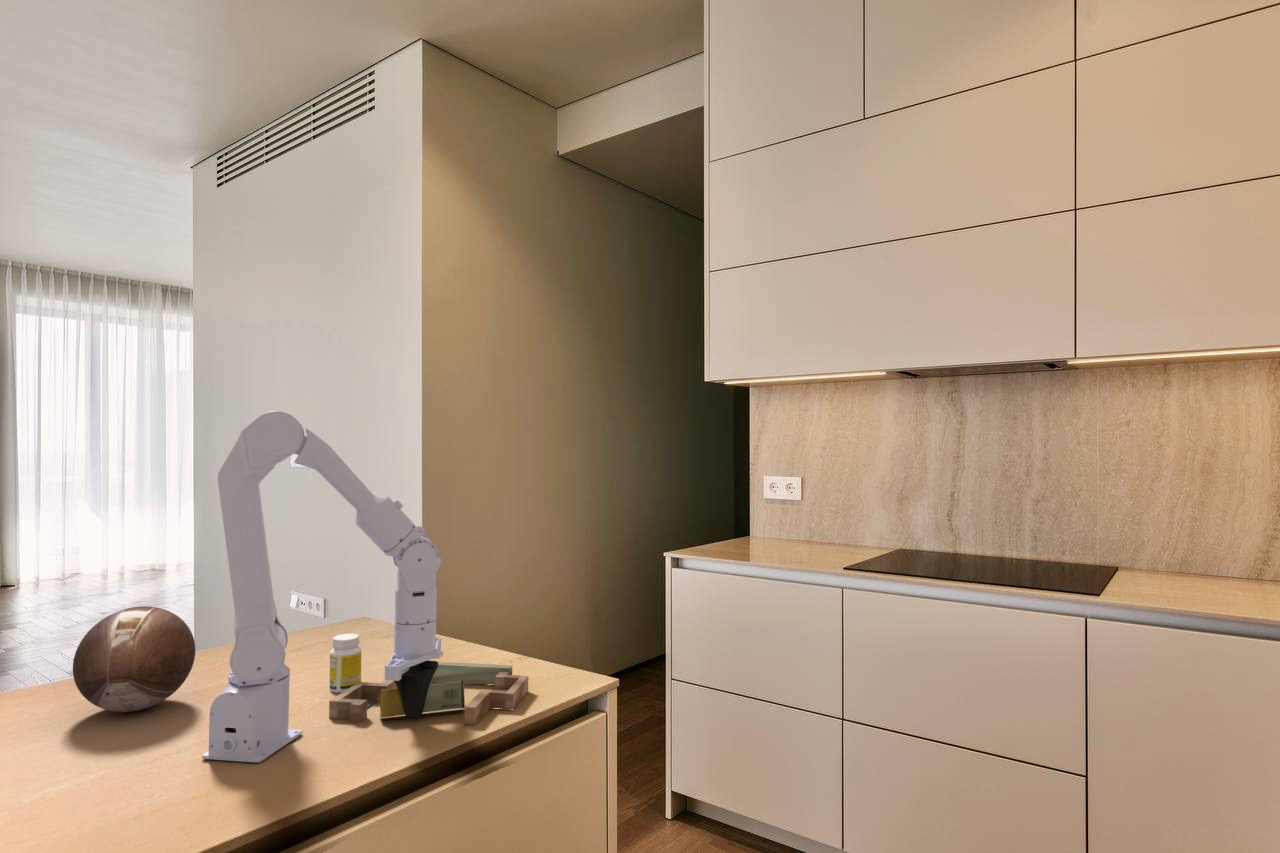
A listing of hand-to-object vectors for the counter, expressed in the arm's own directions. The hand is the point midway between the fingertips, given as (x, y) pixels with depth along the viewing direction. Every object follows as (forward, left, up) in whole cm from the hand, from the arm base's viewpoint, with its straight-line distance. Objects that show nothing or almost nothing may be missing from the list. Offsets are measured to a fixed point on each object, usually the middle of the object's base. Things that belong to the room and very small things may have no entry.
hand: (413, 715), depth 104 cm
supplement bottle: (+12, +17, -1) cm, 21 cm away
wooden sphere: (-1, +43, -1) cm, 43 cm away
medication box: (+3, 0, -1) cm, 3 cm away
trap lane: (+8, 0, -1) cm, 8 cm away
